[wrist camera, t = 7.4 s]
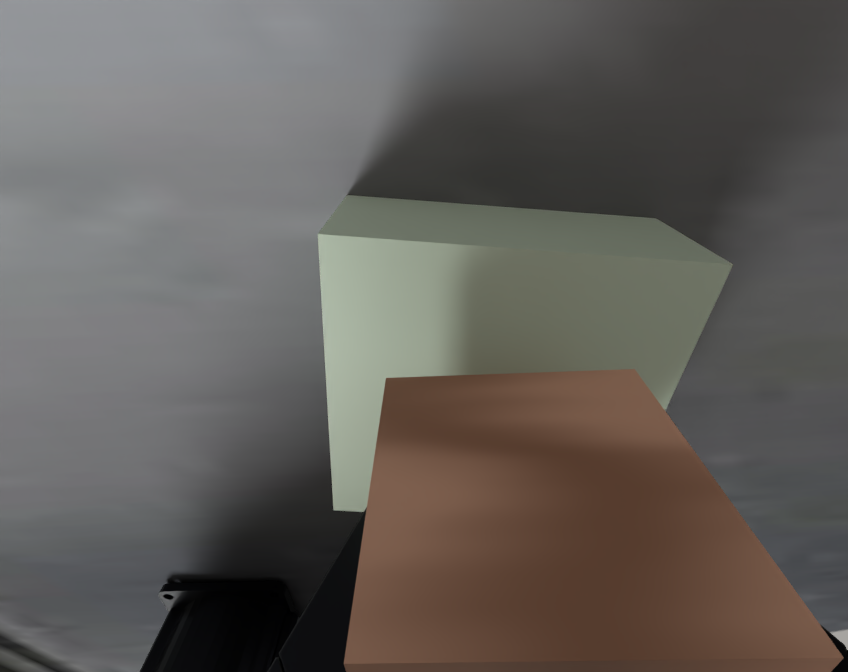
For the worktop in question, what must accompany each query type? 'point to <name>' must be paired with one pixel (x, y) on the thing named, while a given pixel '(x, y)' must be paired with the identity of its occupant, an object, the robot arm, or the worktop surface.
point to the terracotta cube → (560, 539)
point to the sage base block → (496, 304)
